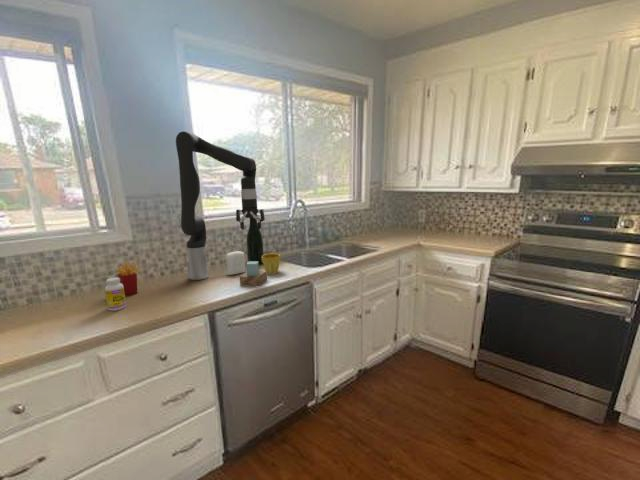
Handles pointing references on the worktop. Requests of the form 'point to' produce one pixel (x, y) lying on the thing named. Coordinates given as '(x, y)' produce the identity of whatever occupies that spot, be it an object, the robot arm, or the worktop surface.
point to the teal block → (252, 268)
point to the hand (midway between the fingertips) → (251, 229)
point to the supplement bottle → (115, 294)
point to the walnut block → (253, 279)
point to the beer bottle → (254, 242)
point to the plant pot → (271, 263)
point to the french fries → (128, 279)
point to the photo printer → (235, 262)
